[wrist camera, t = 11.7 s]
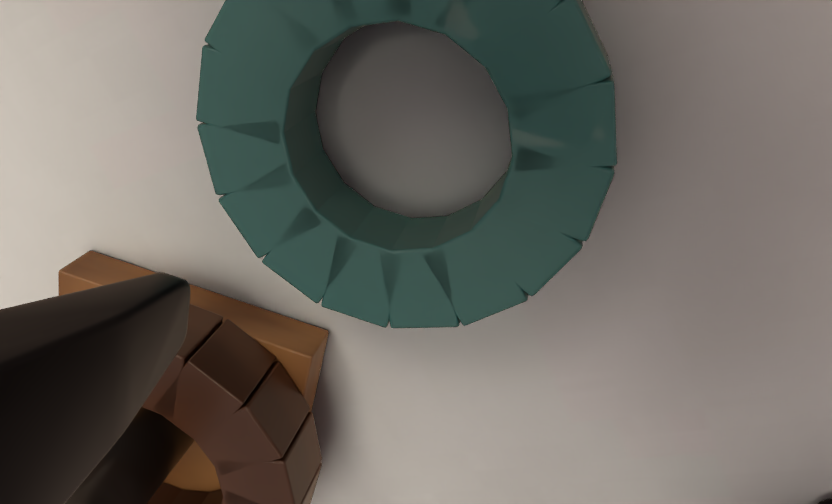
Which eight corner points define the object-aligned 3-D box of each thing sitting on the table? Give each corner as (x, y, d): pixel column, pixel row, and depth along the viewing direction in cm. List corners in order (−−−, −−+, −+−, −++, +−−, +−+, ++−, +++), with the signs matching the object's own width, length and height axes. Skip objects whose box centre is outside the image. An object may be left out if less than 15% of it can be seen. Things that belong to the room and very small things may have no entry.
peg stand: (329, 330, 21) (209, 518, 14) (290, 510, 24) (179, 728, 18) (90, 249, 21) (-133, 392, 15) (86, 436, 25) (-93, 618, 18)
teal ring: (678, -26, 15) (693, -20, 13) (537, 332, 19) (532, 377, 17) (264, -140, 16) (219, -150, 14) (221, 228, 20) (182, 260, 18)
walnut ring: (352, 364, 19) (326, 412, 17) (288, 577, 23) (262, 636, 22) (43, 247, 20) (-16, 281, 18) (38, 476, 24) (-10, 523, 22)
